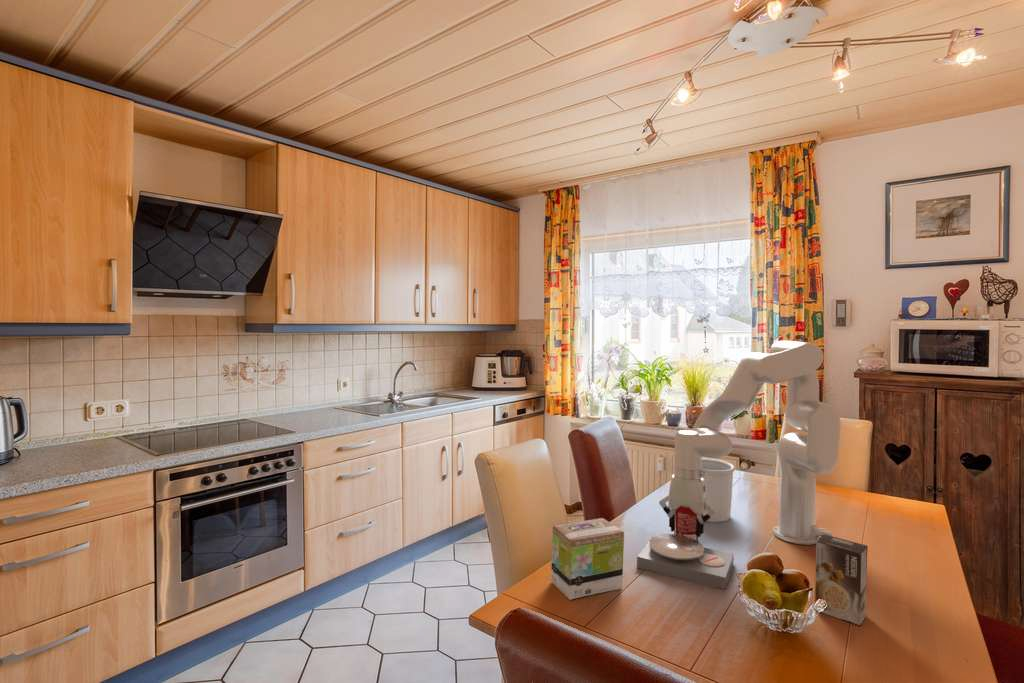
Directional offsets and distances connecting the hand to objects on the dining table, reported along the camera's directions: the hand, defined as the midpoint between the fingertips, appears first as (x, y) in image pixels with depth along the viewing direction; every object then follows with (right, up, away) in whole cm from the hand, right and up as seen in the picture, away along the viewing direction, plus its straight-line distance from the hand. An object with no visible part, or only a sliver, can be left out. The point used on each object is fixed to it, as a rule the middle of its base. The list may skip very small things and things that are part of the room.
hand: (686, 532), depth 155 cm
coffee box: (+23, -5, -36) cm, 43 cm away
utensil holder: (+15, -3, +23) cm, 27 cm away
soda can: (0, -4, 0) cm, 4 cm away
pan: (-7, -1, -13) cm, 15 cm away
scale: (-5, -4, -14) cm, 16 cm away
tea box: (-33, -5, -25) cm, 41 cm away
